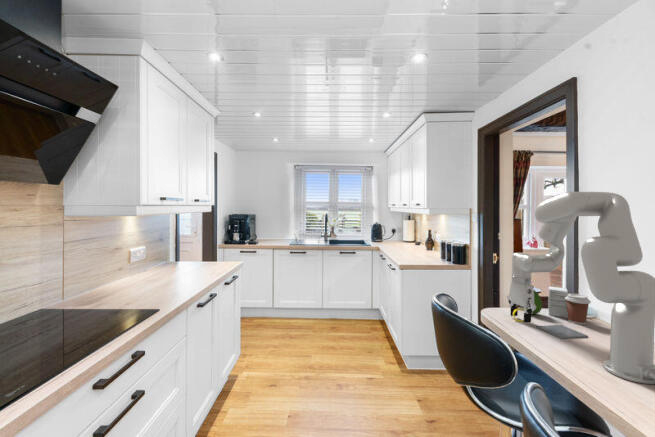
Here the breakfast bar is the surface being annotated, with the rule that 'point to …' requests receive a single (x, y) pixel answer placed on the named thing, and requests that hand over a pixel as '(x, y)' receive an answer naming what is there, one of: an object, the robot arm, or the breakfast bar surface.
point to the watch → (517, 310)
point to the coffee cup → (577, 308)
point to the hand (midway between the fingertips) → (520, 318)
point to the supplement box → (558, 301)
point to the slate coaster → (562, 331)
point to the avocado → (537, 303)
